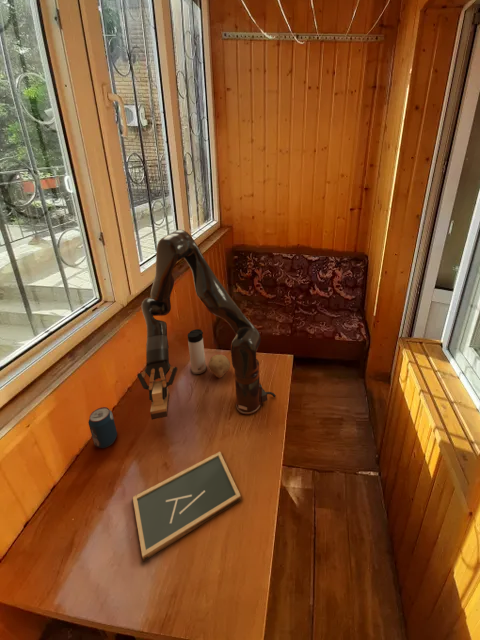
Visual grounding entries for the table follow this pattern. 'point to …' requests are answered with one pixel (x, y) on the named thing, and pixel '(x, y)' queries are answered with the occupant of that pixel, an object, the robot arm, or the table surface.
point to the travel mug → (196, 351)
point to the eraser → (159, 402)
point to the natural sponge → (219, 365)
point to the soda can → (102, 427)
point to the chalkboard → (183, 503)
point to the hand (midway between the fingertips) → (158, 400)
